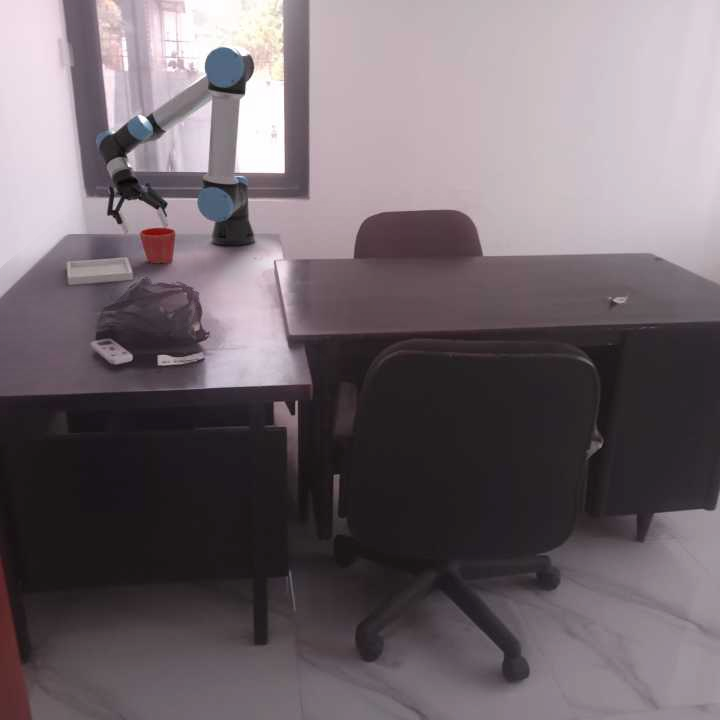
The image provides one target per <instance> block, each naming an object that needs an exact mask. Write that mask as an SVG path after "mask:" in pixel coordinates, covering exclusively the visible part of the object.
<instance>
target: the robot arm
mask: <svg viewBox="0 0 720 720" xmlns="http://www.w3.org/2000/svg"><path fill="white" fill-rule="evenodd" d="M204 71H205V75H203V76H202V77H200V78H199V79H197V80H196V81H194V82H193V83H192V84H190V85H189V86H187V87H186V88H184V90H182V91H180V92H179V93H177V94H176V95H175V96H174V97H172V98H171V99H169V100H167V101H166V102H165V103H164V104H162V105H161V106H158V108H156V109H155V110H154V111H153V112H151V113H149V114H148V115H146V117H145V116H143V115H141V114H137V115H135V116H134V117H132V118H130V119H129V120H128V121H127V122H126V123H125V124H123V126H122V127H120V128H119V129H118V130H117V131H113V130H106V131H104V132H101V133H99V134H98V135H97V137H96V139H95V143H96V145H97V149H98V153H99V154H100V155H101V158H102V161H103V163H104V164H105V166H106V169H107V171H108V173H109V176H110V177H111V181H112V183H113V185H114V187H113V186H109V188H108V190H107V194H108V203H107V211H106V215H107V216H108V217H110V216H112V218H113V219H114V220H115V221H116V223H117V225H120V226H121V229H122V231H123V234H124V235H127V234H128V233H129V230H130V228H129V226H128V224H127V220H126V219H125V217H124V214H123V213H122V212H121V211H120V210H121V208H122V207H123V204H124V203H125V200H126V201H136V200H139V201H141V202H142V201H143V202H144V203H145V204H147V205H149V206H150V207H151V208H153V209H155V210H157V211H156V214H157V215H158V218H159V221H160V222H161V224H162V228H168V226H169V222H168V219H167V217H168V214H167V211H166V208H167V207H168V205H169V203H168V202H167V201H166V200H165V199H164V198H163V197H161V195H160V194H158V192H157V191H156V190H154V189H153V188H152V187H151V185H150V183H148V182H147V183H145V184H143V185H141V184H140V183H139V180H138V177H137V175H136V173H135V171H134V169H133V166H132V165H131V162H130V160H129V158H128V155H129V153H131V152H132V151H133V150H135V149H136V148H138V147H139V146H140V145H142V144H146V143H149V142H154V141H157V140H158V139H161V138H162V136H163V135H164V134H166V133H167V131H169V130H171V129H172V128H174V127H176V125H178V124H180V123H181V122H182V121H184V120H185V119H187V118H188V117H190V116H191V115H193V114H194V113H195V112H197V111H198V110H200V109H201V108H203V107H204V106H205V105H207V104H208V103H210V102H211V101H212V102H211V112H210V113H211V115H210V133H209V134H210V135H209V150H208V166H207V167H208V168H207V173H206V174H204V176H203V177H202V187H201V191H200V193H199V195H198V196H197V202H196V204H197V207H198V211H199V212H200V214H201V215H202V216H203V217H204V218H205V219H207V220H208V221H211V222H213V223H214V225H213V229H212V231H211V232H212V233H211V242H212V243H213V244H215V245H220V246H228V247H229V246H231V247H233V246H244V245H245V246H246V245H249V244H252V243H254V242H255V240H256V239H255V232H254V229H253V226H252V223H251V222H250V218H249V217H250V216H249V215H250V214H249V190H248V189H249V183H248V179H247V177H246V176H244V175H235V171H236V156H237V146H238V145H237V144H238V131H239V117H240V115H239V114H240V105H241V104H240V103H241V99H242V98H244V97H245V95H246V87H247V82H249V80H250V79H252V76H253V75H254V72H255V62H254V58H253V57H252V54H250V52H249V51H248V50H247V49H245V48H243V47H241V46H238V45H237V46H236V45H233V46H232V45H231V46H230V45H220V46H217V47H216V48H214V49H212V50H211V51H210V52H209V53H208V54H207V56H206V58H205V62H204ZM116 193H117V195H119V196H120V198H119V200H118V203H117V204H116V207H115V208H114V201H115V200H114V199H115V195H116Z"/></svg>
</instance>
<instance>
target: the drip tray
mask: <svg viewBox="0 0 720 720" xmlns="http://www.w3.org/2000/svg"><path fill="white" fill-rule="evenodd" d="M129 260H130V259H129V258H128V257H117V258H116V257H115V258H104V259H103V258H101V259H99V258H98V259H87V260H75V261H74V260H72V261H66V270H67V271H66V272H67V274H66V275H67V283H68V286H73V285H83V284H97V283H98V284H99V283H109V282H123V281H133V280H134V273H133V270H132V266H131V263H130V261H129ZM132 279H133V280H132Z"/></svg>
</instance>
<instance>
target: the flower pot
mask: <svg viewBox="0 0 720 720" xmlns="http://www.w3.org/2000/svg"><path fill="white" fill-rule="evenodd" d="M139 236H140V240H141V244H142V247H143V251H144V255H145V257H146V260H147V263H149V262H151V263H150V264H152V263H164V264H169V263H171V262H172V261H173V257H174V250H175V241H176V230H175V229H173V228H168V227H167V228H164V227H150V228H147V229H146V228H145V229H143V230H141V231H140V232H139Z"/></svg>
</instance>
